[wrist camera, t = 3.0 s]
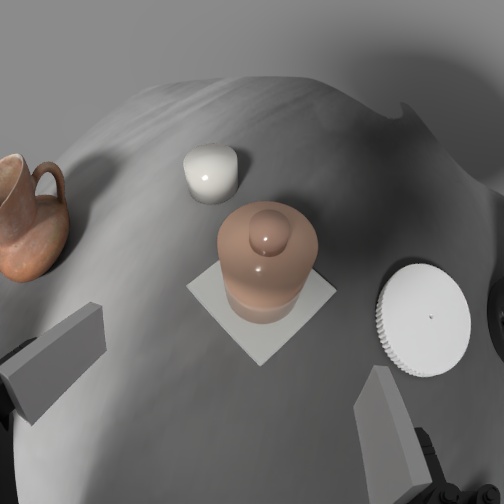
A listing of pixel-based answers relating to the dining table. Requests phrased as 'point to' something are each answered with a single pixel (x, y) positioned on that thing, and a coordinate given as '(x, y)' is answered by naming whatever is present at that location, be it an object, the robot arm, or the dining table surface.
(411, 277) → the plastic lid
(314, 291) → the mat
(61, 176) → the ceramic jug
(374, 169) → the dining table surface
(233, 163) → the white rounded cylinder
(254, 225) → the bottle
